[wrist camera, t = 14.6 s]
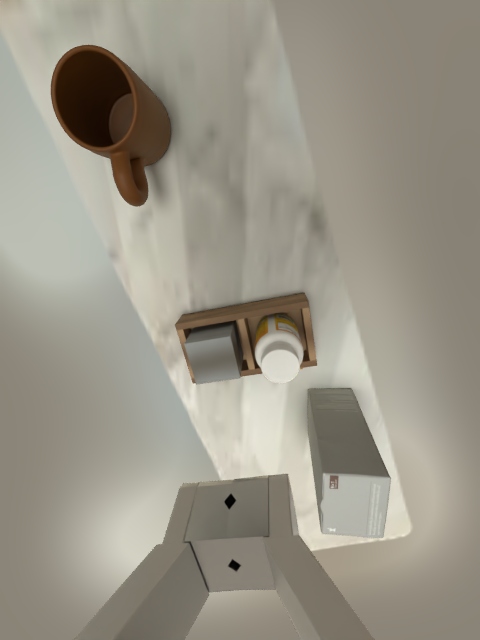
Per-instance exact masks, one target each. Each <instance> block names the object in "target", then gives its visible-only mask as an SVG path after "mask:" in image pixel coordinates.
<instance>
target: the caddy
mask: <svg viewBox="0 0 480 640" xmlns="http://www.w3.org/2000/svg"><path fill="white" fill-rule="evenodd" d="M274 313H283V314H286V315H288V316H289V317H291V318H292V319H293V321H294V322H295V324H296V326H297V329H298V333H299V336H300V340H301V343H302V347H303V360H302V363H301V365H300V369H303V367H310V366H317V361H316V354H315V346H314V339H313V332H312V325H311V318H310V310H309V303H308V300H307V298H306V295H305V293H301V294H295V295H290V296H284V297H279V298H273V299H268V300H262V301H256V302H251V303H245V304H240V305H234V306H229V307H223V308H218V309H212V310H207V311H201V312H195V313H190V314H184V315H182V316H181V317H180V319H179V320H178V321H177V323H176V324H175V326H176V329H177V333H178V336H179V339H180V343H181V346H182V349H183V352H184V356H185V359H186V362H187V366H188V369H189V372H190V375H191V379H192V382H193V383H196V384H203V383H209V382H216V381H223V380H230V379H237V378H240V377H241V376H248V375H255V374H262V371H261V368H260V367H259V365H258V363H257V361H256V358H255V341H256V329H257V325H258V323H259V321H260V320H261V319H262V318H263V317H264V316H266V315H268V314H274Z"/></svg>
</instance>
